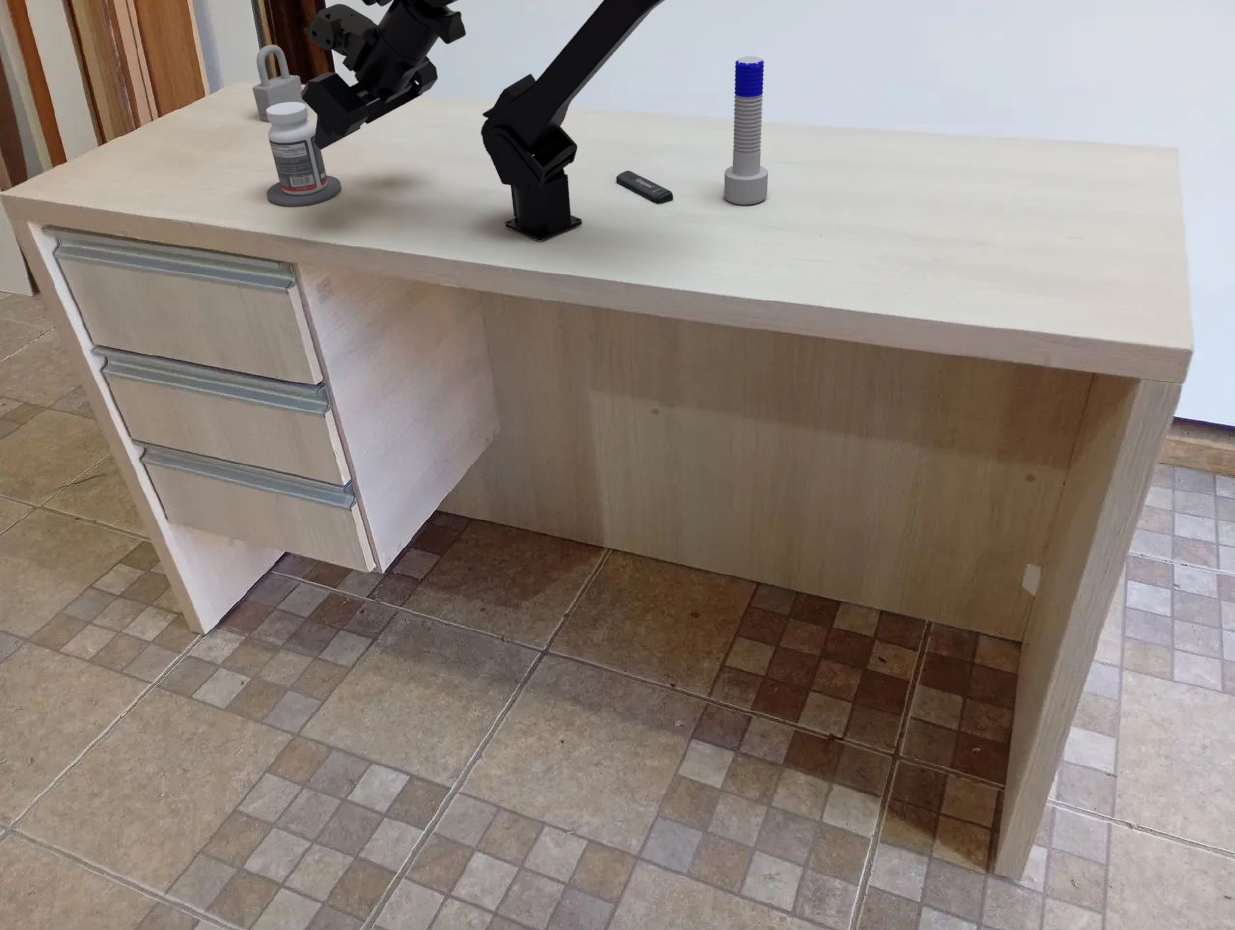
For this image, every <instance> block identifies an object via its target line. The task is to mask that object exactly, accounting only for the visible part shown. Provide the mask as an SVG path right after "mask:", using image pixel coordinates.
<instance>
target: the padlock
mask: <svg viewBox="0 0 1235 930" xmlns="http://www.w3.org/2000/svg"><path fill="white" fill-rule="evenodd" d="M270 54H275V56H276V58H277V61H278V66H279V71H280V74H281V75H279V76H276V77H271V78H270V79H269V76H268V72H267V68H266V62H265V61H266V57H267V56H268V55H270ZM256 65H257V66H256V67H257V71H258V75H259V79H260V83H258V84H257V85H253V86H252V92H253V96H254V100H255V104H256V107H257V108H256V109H257V112H258V116H259V121H265V122H269V121H268V118H267V113H266V110H267V108H269V107H270V106H273V105H276V104H280V103H285V102H300V103H304V104H305V105H306V106H307V103H306V102H305V101H304V100H303V99H302V97H301V92H302V90H303V87H302V81H301V77H300V76H299V75H292V74H290V72H289V68H288V63H287V60H286V56H285V53H284V51H283V50H282V48H281V47H280V46H278V45H276V44H269V45H268V44H267V45H265V46H263V47H262V48H261V49H259V51H258V53H256Z"/></svg>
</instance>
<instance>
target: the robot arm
mask: <svg viewBox="0 0 1235 930" xmlns="http://www.w3.org/2000/svg"><path fill="white" fill-rule="evenodd" d="M361 1H362V2H363V4H364V5H365V6H368V7H369V6H373V5H375V4H377V5H378V6H380V7H384V6H386V5H389V4H390V3H391V2H392V3H391V4H390V5H389V7H388V9H387V10H386V12H385V13H384V15H383V17H382V18H381V20H380V21H379V23H378V24H377V23H375V22H374V21H373V20H372V19H371V18H369V17H368V16H366V15H364V14H362V13H361V12H359V11H358V10H355V9H354V8H351V7H350V6H349V5H346V4H343V3H336V4H334V5H331V6H329V7H326V8H323V9H321V10H319V11H318V12H317V14H316V15H313V20H312V21H311V22H310V23H308V29H309V31H310V33H309V37H310V39H311V41H312V42H313V43H314V44H316V45H318V46H319V47H321V48H323V49H325V50H326V51H331V50H332V51H334V52H336V53H337V54H338V55H341V56H344V57H345V58H344V60H343V61H342V64H343V66H344V67H345V68H346V69H347V70H348V71H349V72H354V78H355V79H356V81H357V82H356V83H355V84H351V85H349V83H347V82H346V81H345V80H344V79H343V78H342V76H340V74H339V73H338V72H331V71H330V72H328V71H327V72H325V73H322V74H320V75H318V76H316V77H314V78H311V79H310V80H308V81H306V84H305V85H304V87H303V88H302V92H301V97H302V99H303V100H304V101H305V103H306V106H307V105H308V107H309V108H310V109H311V110H312V111H313V112H314V113H315V115H316V125H315V128H316V131H315V139H314V143H315V145H316V146H317V147H318V148H319V149H321V151H322V150H323V149H325V148H327V147H329V146H330V145H333V144H335V143H338V142H339V141H340V140H342V139H344V138H346V137H348V136H350V135H352V134H354V133H355V132H358V131H359V130H360V129H361V128H362V127H361V126H363V124H364V123H365V124H366V125H369V124H370V123H372V122H374V121H376V120H378V119H379V118H383V116H385V115H387V114H390V113H391V112H392V111H393V112H394V111H395V110H396V109H399V108H400V107H402V106H404V105H406V104H408V103H410V102H411V101H413V100H416V99H417V98H419V97H420V96H422V95H423V94H424V93H426V92H428V91H430V90H431V89H432V87H433V86H434V85H435V84H436V82H437V80H438V79H439V76H438V71H437V66H435V64H433V61H431V59H430V58H429V57H428V56H427V55H428V53H429V52H430V51H431V49H432V47H433V46H434V45H435V44H436V42H437V41H438V39H439V38H440V39H441V40H442V42H443V43H445V45H449V44H452V43H454V42H455V41H458V40H460V39H462V38H464V37H465V36H466V35H467V32H466V29H465V24H464V22H463V20H462V12H461V11H457V10H456V11H454V10H452V9H450V8H449V7H448V6H449V5H451V4H453V3H455V2H457V1H459V0H361ZM665 1H666V0H603V1H601V2H600V4H599V5H598V6H597V8H596V9H595V10H594V11H593V13H591V15H590V16H589V17H588V18H587V19H586V21H585V22H584V23H583V24H582V26H580V28H579V29H578V31H576V33H575V34H574V35H573V36H572V37H571V38H570V40H569V41H568V42H567V43H566V45H565V46H564V47H563V48H562V49H561V51H560V52H559V53H558V55H557V56H556V57H555V58H554V59H553V60H552V61H551V62H550V64H549V65H548V66H547V67H546V69H545V70H544V71H543V72H542V73H541V75H539V77H538V78H537V79H536V78H535V77H534V75H533V74H532V73H528V75H526V76H523V77H522V78H520V79H518V80H517V81H515V82H514V83H512V84H510V85H508V86H507V87H505V88H504V89H502V91H501V93H500V94H499V96H498V98H497V100H496V101H495V103H494V105H493V106H492V107H491V108H490V109H487V110H486V111H485V112H483V113H482V116H483V117H484V118H486V120H485V121H484V122H483V124H482V126H481V130H480V136H482V144H483V146H484V148H485V151H486V152H487V154H488V155H489V157H490V160H491V161H492V163H493V166H494V168H495V171H496V173H497V175H498V178H499V180H500V182H501V184H502V185H508V186H510V190H511V191H510V192H511V200H512V209H513V210H512V211H513V212H512V213H513V215H514V217H513V218H511V219H508V220H505V221H504V226H505V227H506V228H508V229H510V230H512V231H514V232H517V233H518V234H522V235H524V236H526V237H529V238H531V239H533V240H535V241H537V242H538V241H539V242H540V241H544V240H546V239H549V238H552V237H555V236H557V235H559V234H562V233H563V232H566V231H569V230H571V229H573V228H575V227H578V226H580V225H582V224H583V219H582V218H580V217H577V216H575V215H573V214H572V213H571V200H570V191H569V189H570V188H569V175H568V174H567V173H566V172H565V169H564V168H566V167H567V166H569V164H572V163H574V162H575V158H576V154H577V152H578V145H577V142H575V141H574V140H573V138H571V136H570V135H569V134H568V133H567V131H565V130H564V129H563V127H562V124H563V122H564V120H565V118H566V116H567V112H568V110H569V106H570V104H571V103H572V101H573V100H574V99H575V98H576V96H577V95H578V94H579V93H580V92H581V91H582V90H583V89H584V87H585V86H586V85H587V84H588V83H589V82H590V81H591V80H592V79H593V77H594V76H595V75H596V74H597V73H598V72H599V71H600V69H601V68H602V67H603V66H604V65H605V64H606V63H607V62H608V61H609V59H610V58H611V57H612V56H613V55H614V54H615V52H617V50H619V48H620V47H621V46H622V44H624V43H625V41H626V40H628V38H629V37H630V36H631V35H632V33H634V31H635V30H636V29H637V28H638V27H639V25H640V24H642V22H643V21H644V20H645V19H646V18H647V17H648V15H649V14H650V13H651V12H652V11H653V10H654V9H656V7H658V6H659V5H661V4H662V3H663V2H665Z"/></svg>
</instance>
